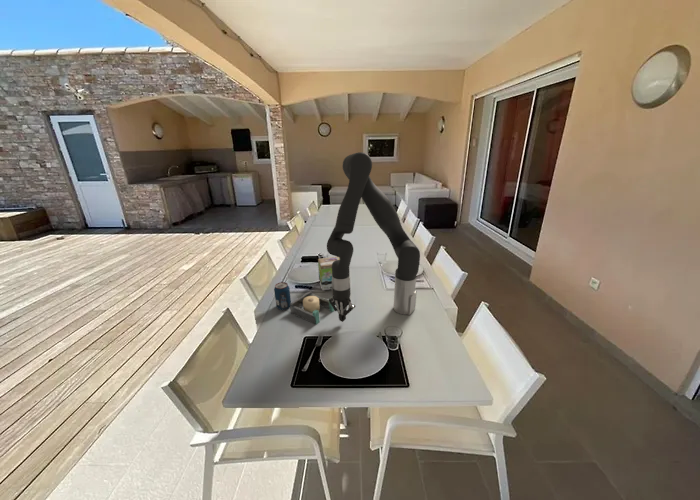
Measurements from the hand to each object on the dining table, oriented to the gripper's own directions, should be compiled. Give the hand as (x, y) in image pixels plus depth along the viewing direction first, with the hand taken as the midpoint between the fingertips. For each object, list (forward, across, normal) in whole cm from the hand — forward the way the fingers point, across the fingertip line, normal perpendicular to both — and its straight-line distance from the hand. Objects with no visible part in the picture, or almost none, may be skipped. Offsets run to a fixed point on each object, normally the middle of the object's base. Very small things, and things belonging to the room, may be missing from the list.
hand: (342, 320), depth 123 cm
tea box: (+2, +24, -25) cm, 35 cm away
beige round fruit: (+2, +18, 0) cm, 18 cm away
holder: (+2, +17, 0) cm, 17 cm away
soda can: (+2, +31, +5) cm, 31 cm away
